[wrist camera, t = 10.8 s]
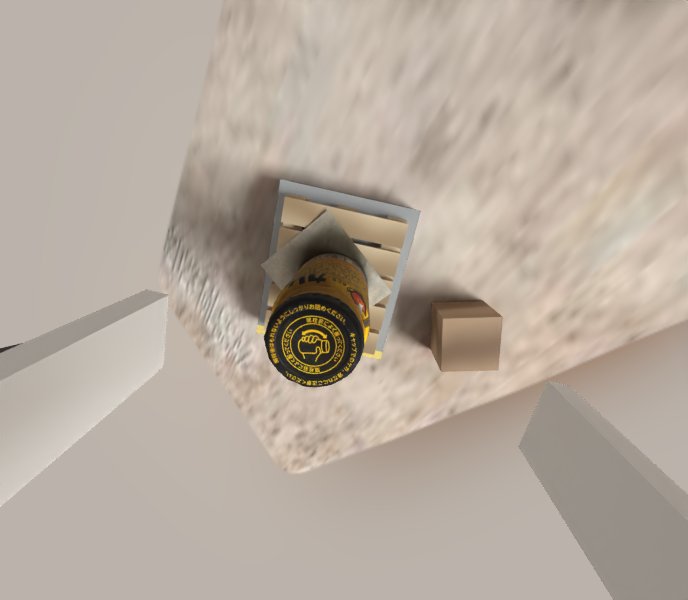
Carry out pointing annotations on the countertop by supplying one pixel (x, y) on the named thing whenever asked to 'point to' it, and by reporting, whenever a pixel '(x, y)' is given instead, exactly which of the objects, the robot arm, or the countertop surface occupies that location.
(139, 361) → the robot arm
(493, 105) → the countertop surface
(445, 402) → the countertop surface
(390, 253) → the pallet
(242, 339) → the countertop surface
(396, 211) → the dock
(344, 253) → the condiment
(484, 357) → the brown cube
